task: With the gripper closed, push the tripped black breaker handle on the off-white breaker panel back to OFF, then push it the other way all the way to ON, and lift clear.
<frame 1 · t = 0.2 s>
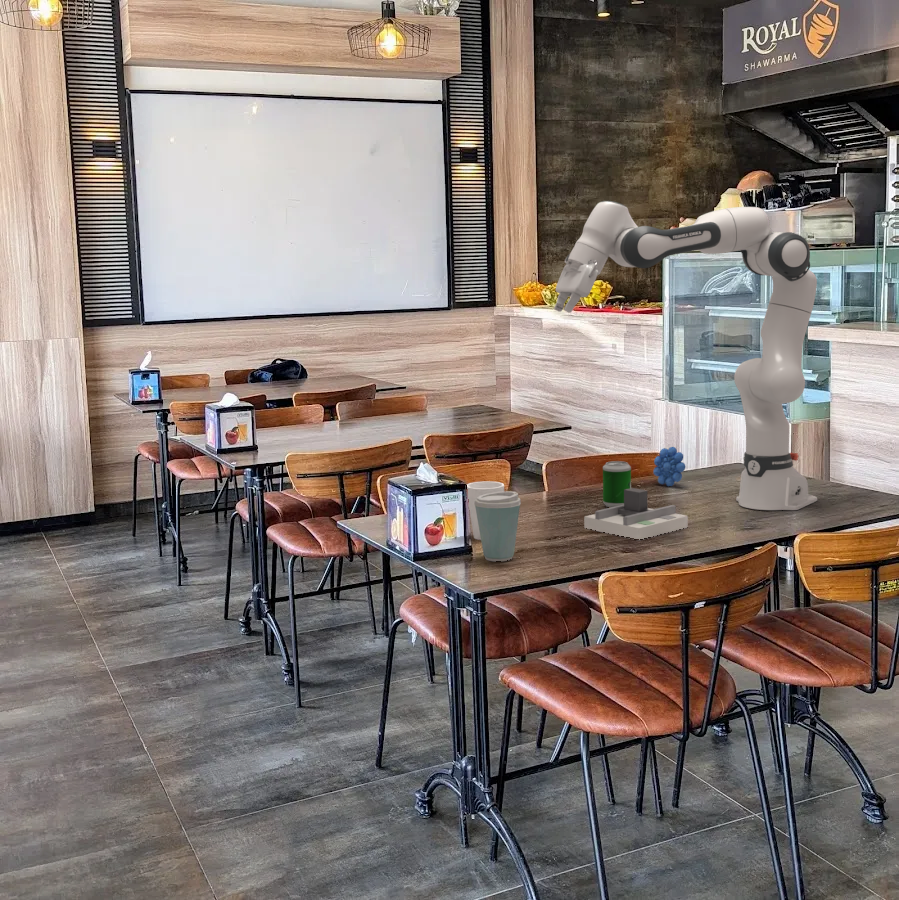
hand: (562, 311, 278), 54 cm above the table, tool tilted 30°, fingers open, 8 cm apart
foam cup: (486, 537, 272), on the table
breaker handle: (635, 502, 276), point 6 cm above the table, slide at 0.0 cm
soda can: (617, 507, 301), on the table
grapes: (671, 486, 326), on the table
disposable coffee cup: (498, 559, 253), on the table
breaker panel: (635, 527, 277), on the table
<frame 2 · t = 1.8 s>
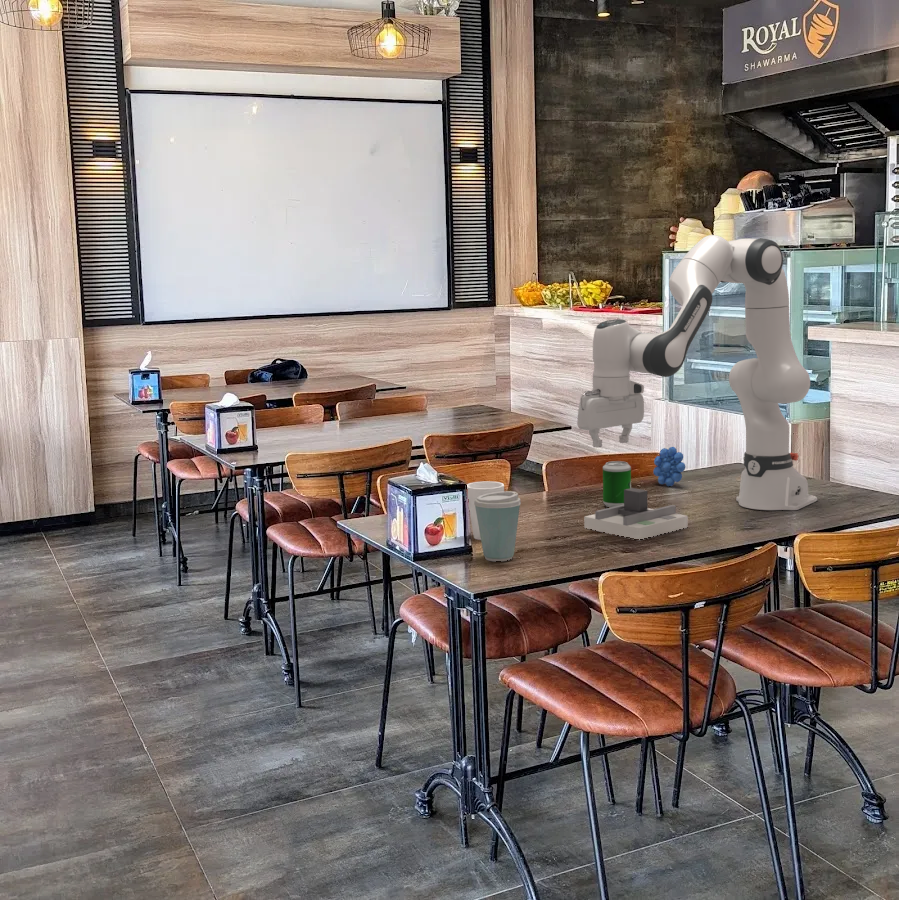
hand: (610, 444, 269), 22 cm above the table, tool pointing down, fingers open, 8 cm apart
nothing on the table moved.
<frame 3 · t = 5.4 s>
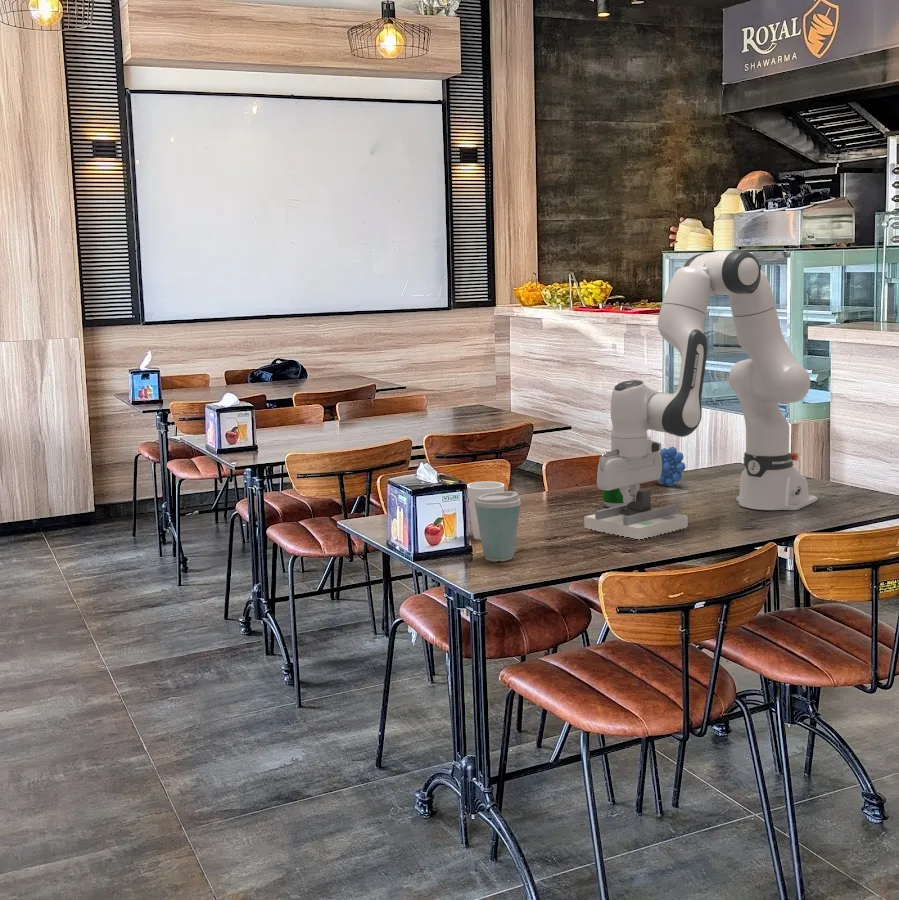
hand: (629, 502, 274), 7 cm above the table, tool pointing down, fingers closed
breaker handle: (638, 501, 276), point 7 cm above the table, slide at -1.2 cm, touching gripper
everything else where it was.
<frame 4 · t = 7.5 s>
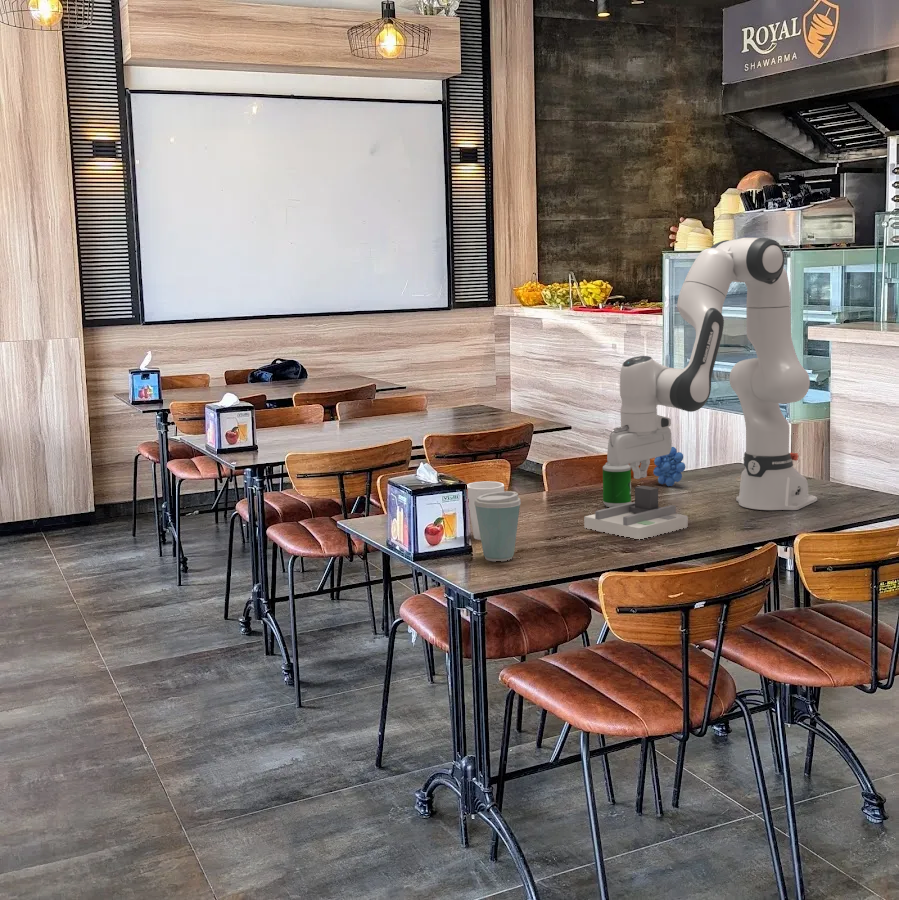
hand: (640, 477, 276), 12 cm above the table, tool pointing down, fingers closed
breaker handle: (646, 499, 278), point 7 cm above the table, slide at -4.0 cm
everything else where it was.
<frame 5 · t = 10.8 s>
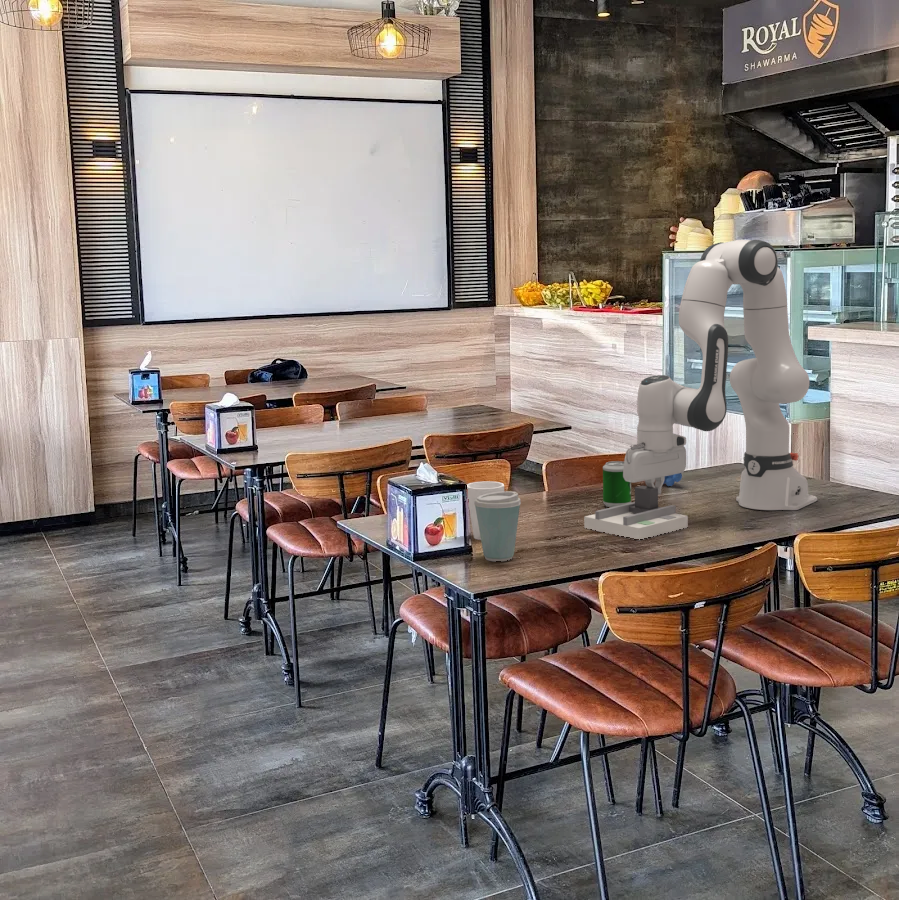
hand: (654, 494, 280), 7 cm above the table, tool pointing down, fingers closed
breaker handle: (646, 499, 278), point 6 cm above the table, slide at -4.0 cm, touching gripper
everything else where it was.
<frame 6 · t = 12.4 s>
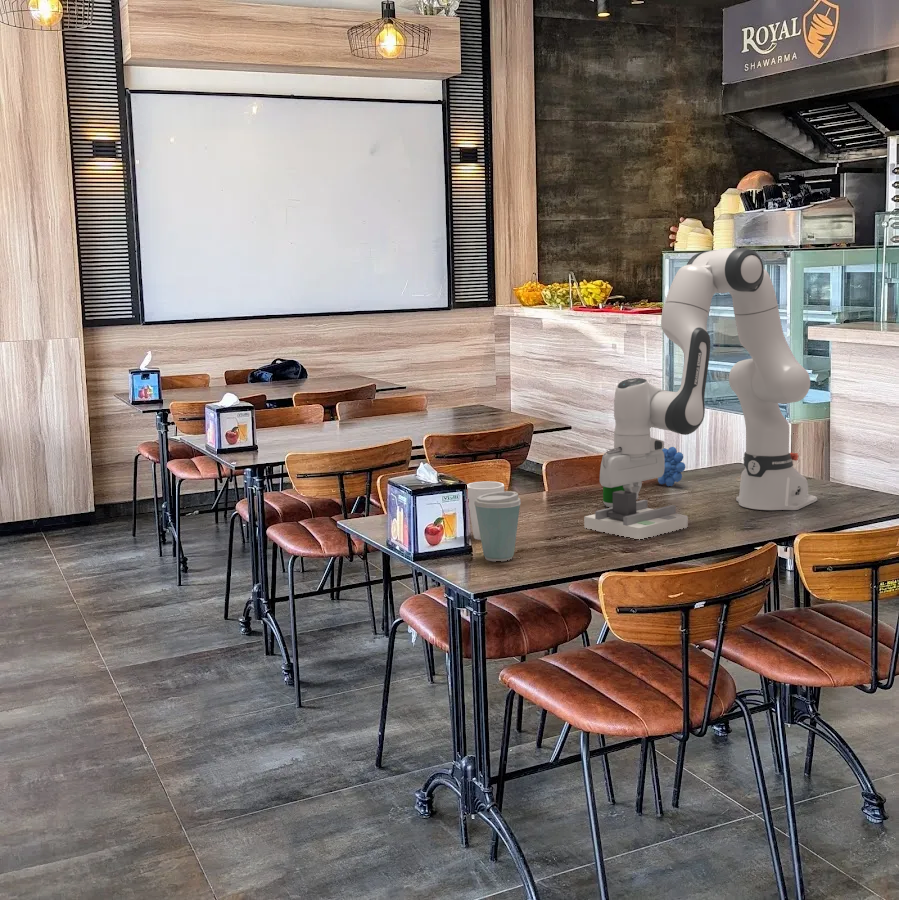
hand: (632, 500, 275), 7 cm above the table, tool pointing down, fingers closed
breaker handle: (624, 505, 273), point 7 cm above the table, slide at 4.1 cm, touching gripper
everything else where it was.
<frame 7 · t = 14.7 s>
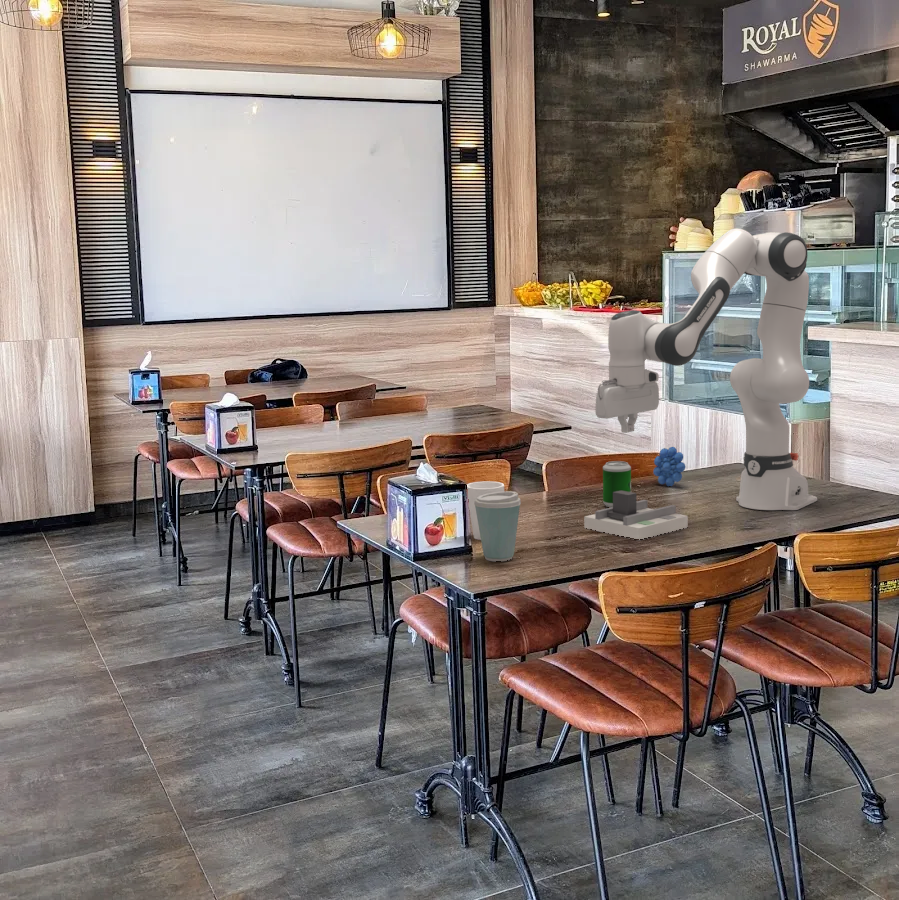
hand: (627, 432, 278), 24 cm above the table, tool pointing down, fingers closed
breaker handle: (624, 505, 273), point 7 cm above the table, slide at 4.0 cm
everything else where it was.
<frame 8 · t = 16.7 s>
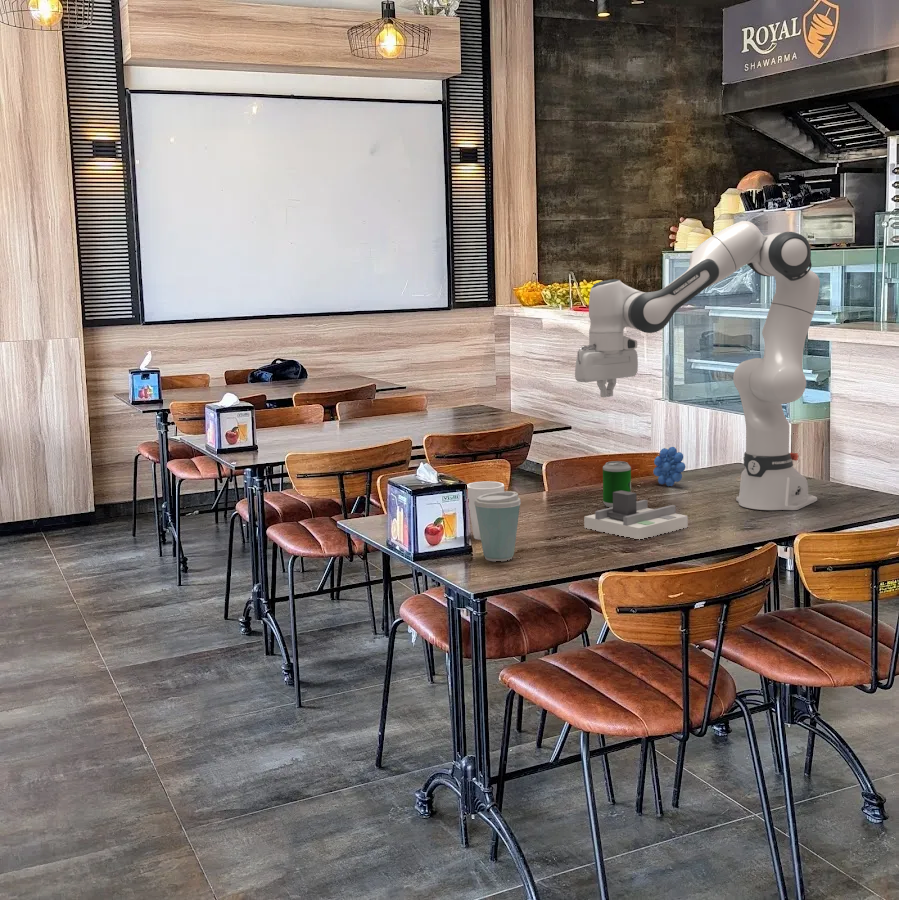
hand: (606, 396, 288), 31 cm above the table, tool pointing down, fingers closed
nothing on the table moved.
at the end: breaker handle slide at 4.0 cm; soda can moved 0.2 cm from its start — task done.
